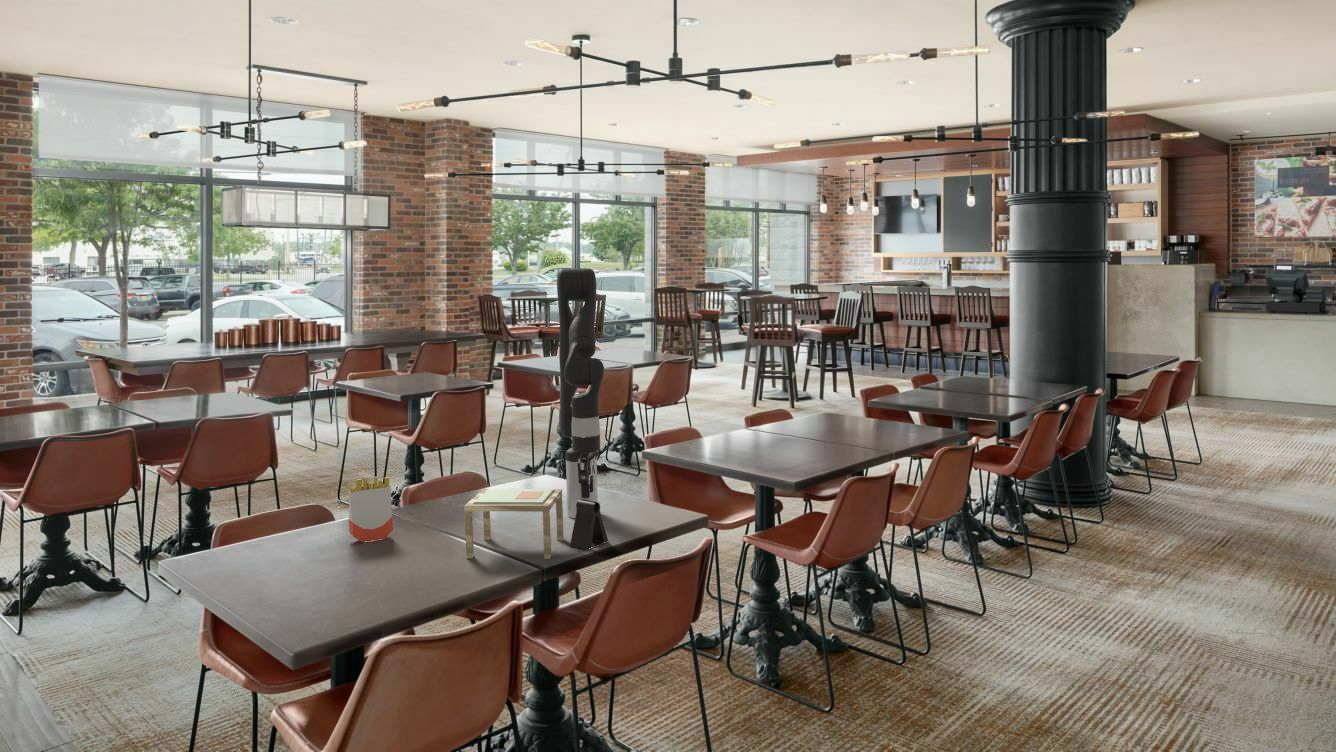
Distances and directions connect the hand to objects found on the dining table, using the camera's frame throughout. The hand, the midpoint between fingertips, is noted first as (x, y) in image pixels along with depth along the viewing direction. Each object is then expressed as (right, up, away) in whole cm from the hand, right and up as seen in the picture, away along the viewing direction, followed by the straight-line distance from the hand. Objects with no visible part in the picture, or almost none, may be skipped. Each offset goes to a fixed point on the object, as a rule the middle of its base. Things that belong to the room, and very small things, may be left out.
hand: (587, 494), depth 254 cm
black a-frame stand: (0, -14, +1) cm, 14 cm away
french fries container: (-61, -14, +10) cm, 64 cm away
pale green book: (-19, -2, -2) cm, 19 cm away
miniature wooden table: (-19, -14, -1) cm, 24 cm away
